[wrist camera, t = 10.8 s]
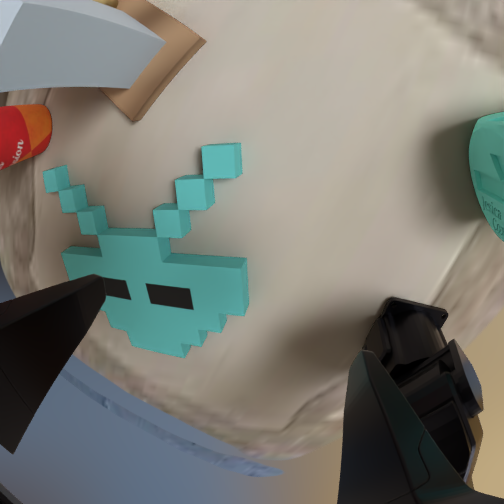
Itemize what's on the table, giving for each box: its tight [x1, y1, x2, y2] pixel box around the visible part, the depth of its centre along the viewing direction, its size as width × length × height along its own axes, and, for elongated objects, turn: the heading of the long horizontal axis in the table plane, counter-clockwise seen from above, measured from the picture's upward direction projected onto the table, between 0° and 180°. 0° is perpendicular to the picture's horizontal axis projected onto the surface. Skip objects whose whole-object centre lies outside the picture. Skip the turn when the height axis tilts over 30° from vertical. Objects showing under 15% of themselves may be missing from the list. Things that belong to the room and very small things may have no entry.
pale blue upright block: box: [0, 0, 166, 92], centre depth 10 cm, size 6×4×12 cm
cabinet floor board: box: [93, 0, 207, 121], centre depth 15 cm, size 10×8×4 cm
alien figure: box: [43, 143, 249, 358], centre depth 24 cm, size 20×2×20 cm
